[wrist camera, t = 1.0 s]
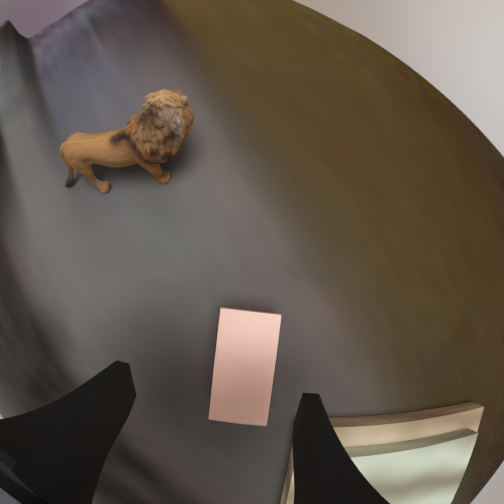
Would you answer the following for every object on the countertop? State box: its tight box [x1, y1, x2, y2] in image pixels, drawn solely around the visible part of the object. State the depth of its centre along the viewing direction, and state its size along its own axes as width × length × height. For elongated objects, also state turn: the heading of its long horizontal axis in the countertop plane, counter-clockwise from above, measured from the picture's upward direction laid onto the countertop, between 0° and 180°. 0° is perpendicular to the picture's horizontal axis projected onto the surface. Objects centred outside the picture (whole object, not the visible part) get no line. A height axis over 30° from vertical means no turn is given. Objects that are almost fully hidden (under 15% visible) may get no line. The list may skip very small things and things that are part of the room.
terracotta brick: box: [209, 307, 281, 426], centre depth 21 cm, size 8×4×5 cm, turn 173°
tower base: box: [280, 402, 484, 504], centre depth 19 cm, size 14×20×4 cm
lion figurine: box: [60, 89, 194, 193], centre depth 22 cm, size 15×5×9 cm, turn 102°
